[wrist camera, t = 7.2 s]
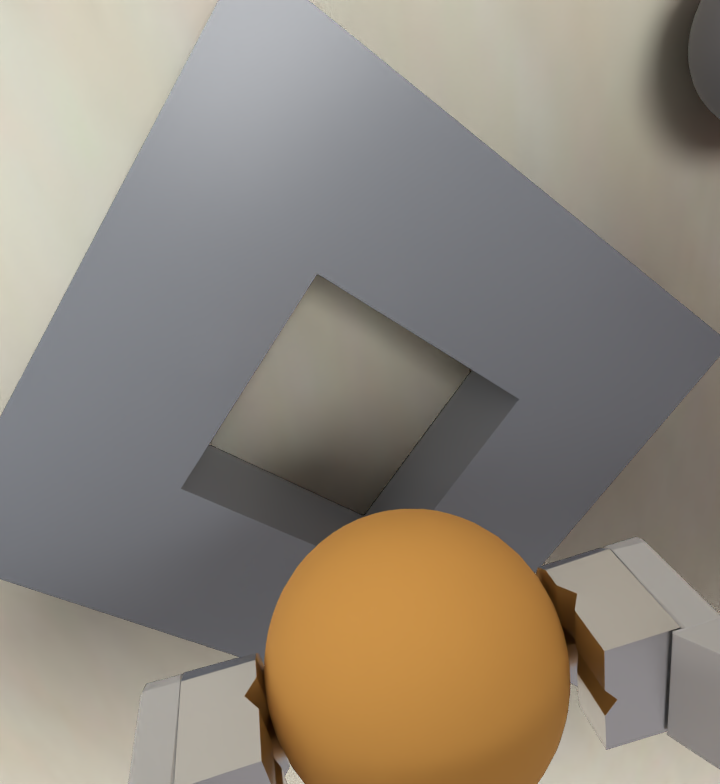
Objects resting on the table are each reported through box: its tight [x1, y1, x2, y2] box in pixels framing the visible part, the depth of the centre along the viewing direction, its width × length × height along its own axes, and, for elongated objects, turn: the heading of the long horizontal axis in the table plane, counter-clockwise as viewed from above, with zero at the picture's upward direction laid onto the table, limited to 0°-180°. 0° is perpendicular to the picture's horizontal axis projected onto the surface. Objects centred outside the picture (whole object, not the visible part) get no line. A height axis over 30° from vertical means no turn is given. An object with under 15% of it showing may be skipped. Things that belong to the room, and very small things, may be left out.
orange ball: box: [264, 509, 570, 784], centre depth 8 cm, size 4×4×4 cm
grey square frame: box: [0, 0, 720, 664], centre depth 15 cm, size 13×13×2 cm
